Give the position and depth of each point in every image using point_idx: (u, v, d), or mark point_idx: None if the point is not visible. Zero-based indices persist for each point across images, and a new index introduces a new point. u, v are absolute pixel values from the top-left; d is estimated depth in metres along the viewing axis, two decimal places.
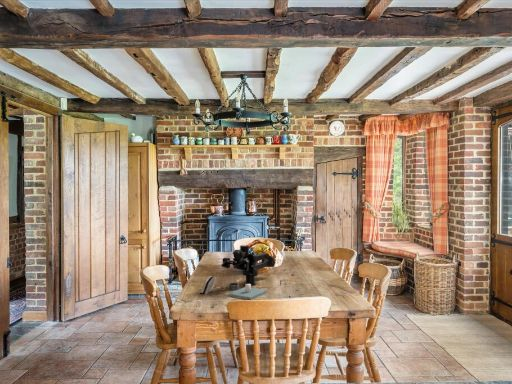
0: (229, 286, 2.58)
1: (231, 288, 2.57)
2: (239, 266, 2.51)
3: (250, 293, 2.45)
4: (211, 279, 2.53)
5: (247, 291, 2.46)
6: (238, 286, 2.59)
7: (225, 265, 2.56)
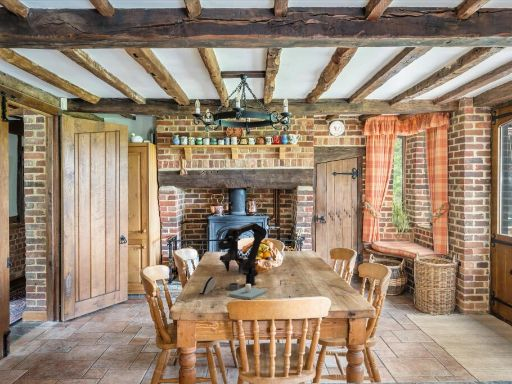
0: (229, 286, 2.58)
1: (231, 288, 2.57)
2: (241, 266, 2.58)
3: (250, 293, 2.45)
4: (211, 279, 2.53)
5: (247, 291, 2.46)
6: (238, 286, 2.59)
7: (228, 264, 2.64)
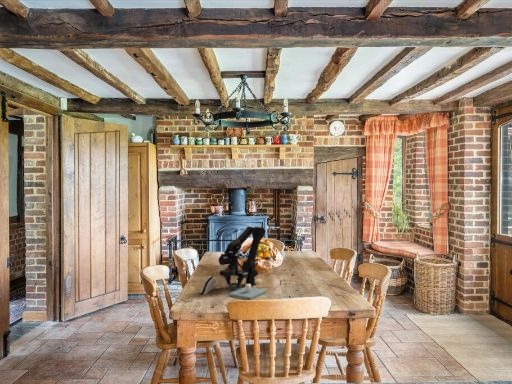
0: (229, 286, 2.58)
1: (231, 288, 2.57)
2: (240, 281, 2.58)
3: (250, 293, 2.45)
4: (210, 279, 2.52)
5: (247, 291, 2.46)
6: None
7: (229, 279, 2.63)
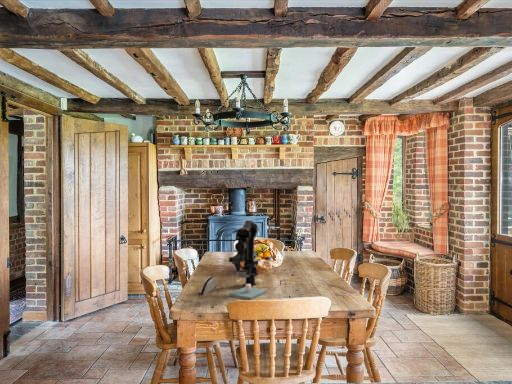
0: (239, 273, 2.48)
1: (241, 275, 2.47)
2: (250, 268, 2.48)
3: (250, 293, 2.45)
4: (210, 279, 2.52)
5: (247, 291, 2.46)
6: None
7: (239, 266, 2.53)
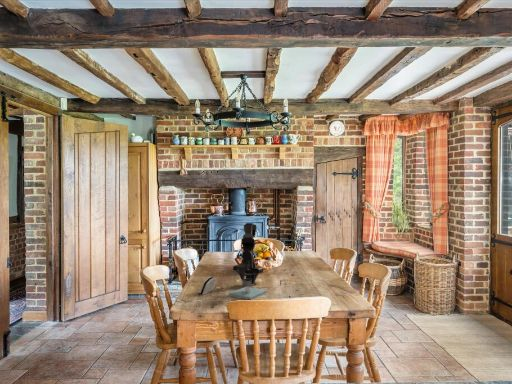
0: (243, 282, 2.45)
1: (245, 284, 2.44)
2: (254, 276, 2.45)
3: (250, 293, 2.45)
4: (210, 279, 2.52)
5: (247, 291, 2.46)
6: None
7: (243, 275, 2.50)
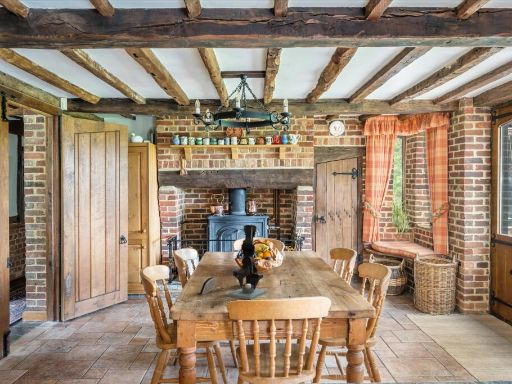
0: (243, 289, 2.45)
1: (245, 291, 2.44)
2: (256, 282, 2.45)
3: (250, 293, 2.45)
4: (209, 280, 2.52)
5: None
6: (253, 289, 2.46)
7: (242, 280, 2.51)
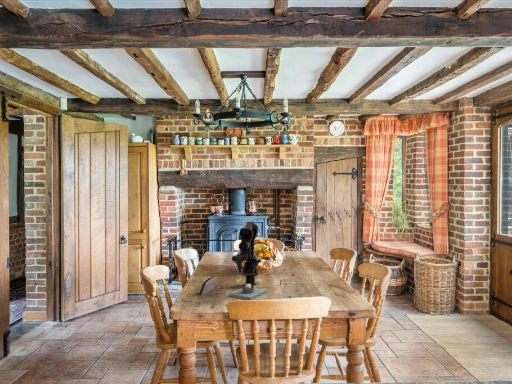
0: (243, 289, 2.45)
1: (245, 291, 2.44)
2: (254, 267, 2.52)
3: (250, 293, 2.45)
4: (209, 280, 2.51)
5: None
6: (253, 289, 2.46)
7: (240, 265, 2.58)
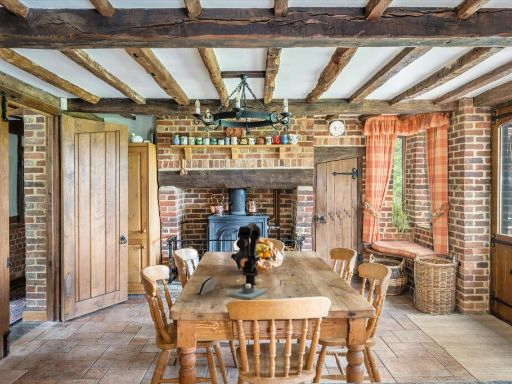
0: (243, 289, 2.45)
1: (245, 291, 2.44)
2: (253, 264, 2.56)
3: (250, 293, 2.45)
4: (208, 280, 2.51)
5: None
6: (253, 289, 2.46)
7: (239, 263, 2.62)
